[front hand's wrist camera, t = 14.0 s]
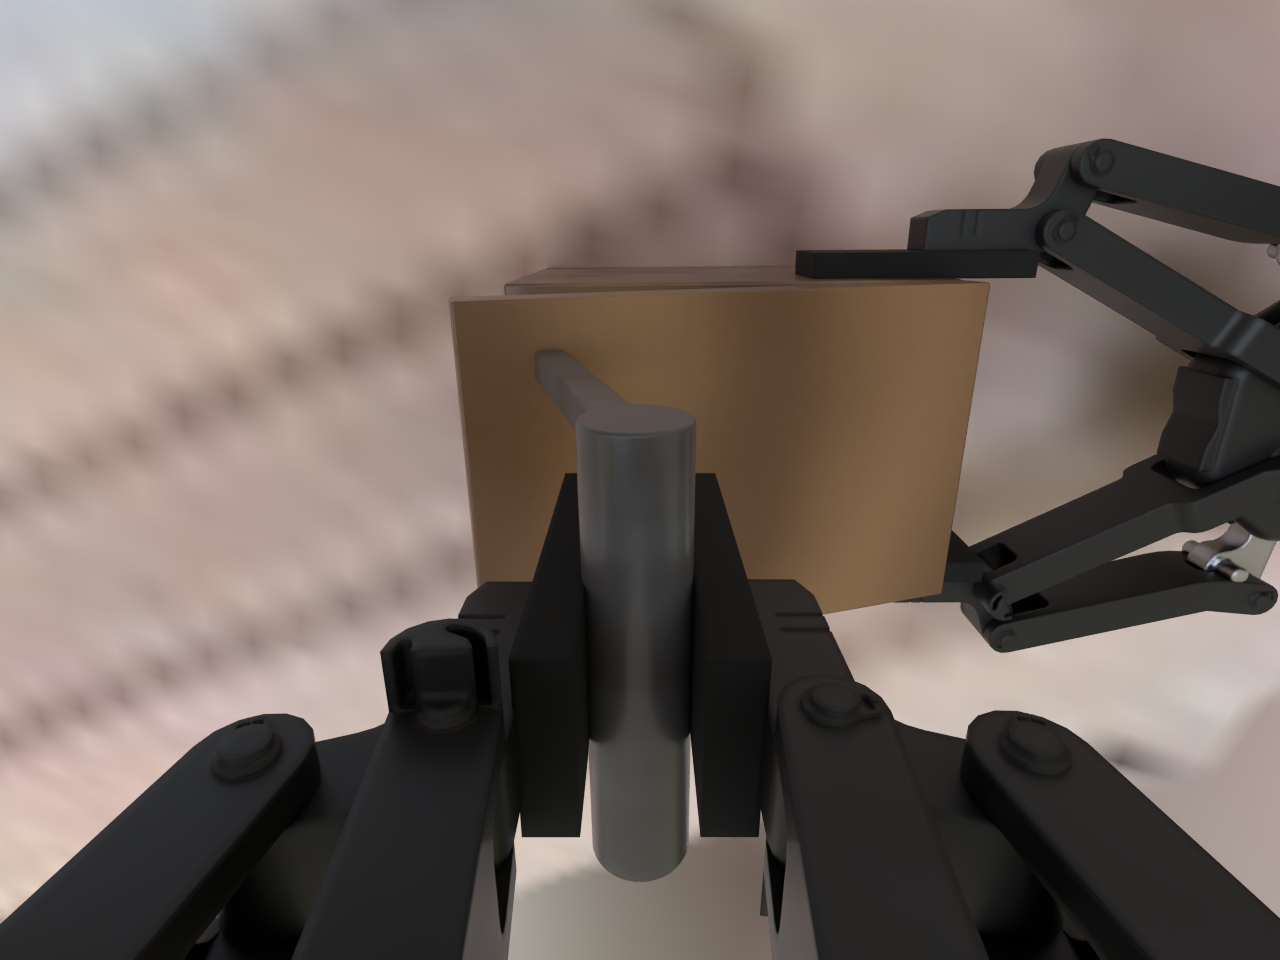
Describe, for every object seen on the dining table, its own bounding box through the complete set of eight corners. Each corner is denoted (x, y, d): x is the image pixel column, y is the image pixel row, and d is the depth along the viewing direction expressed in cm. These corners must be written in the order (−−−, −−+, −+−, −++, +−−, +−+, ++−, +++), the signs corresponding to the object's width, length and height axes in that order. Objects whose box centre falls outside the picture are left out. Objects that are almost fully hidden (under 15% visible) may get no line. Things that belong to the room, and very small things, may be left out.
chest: (557, 484, 31) (524, 576, 23) (546, 268, 28) (503, 283, 20) (847, 483, 31) (921, 575, 23) (869, 265, 28) (964, 279, 19)
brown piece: (483, 649, 19) (531, 962, 11) (448, 297, 16) (478, 364, 8) (917, 576, 23) (1194, 768, 14) (959, 280, 19) (1343, 312, 11)
